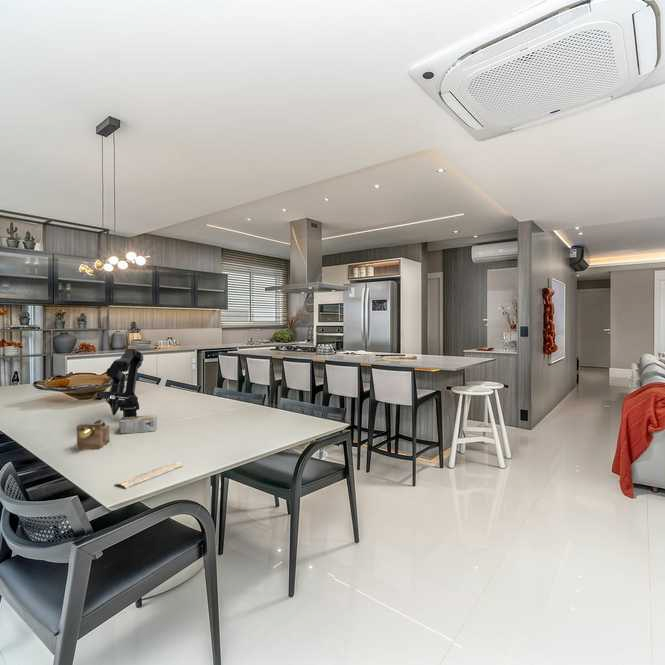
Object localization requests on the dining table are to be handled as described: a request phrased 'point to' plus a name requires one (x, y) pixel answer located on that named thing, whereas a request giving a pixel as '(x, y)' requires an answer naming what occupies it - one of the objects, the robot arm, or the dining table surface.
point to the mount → (93, 437)
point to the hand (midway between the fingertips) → (113, 415)
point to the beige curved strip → (150, 475)
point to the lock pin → (90, 430)
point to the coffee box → (137, 424)
